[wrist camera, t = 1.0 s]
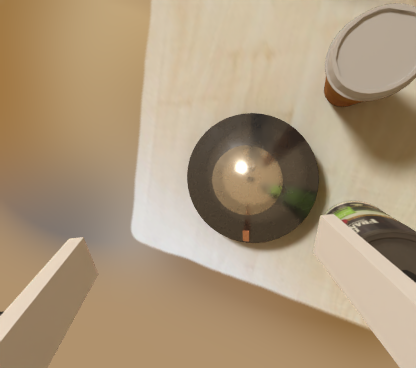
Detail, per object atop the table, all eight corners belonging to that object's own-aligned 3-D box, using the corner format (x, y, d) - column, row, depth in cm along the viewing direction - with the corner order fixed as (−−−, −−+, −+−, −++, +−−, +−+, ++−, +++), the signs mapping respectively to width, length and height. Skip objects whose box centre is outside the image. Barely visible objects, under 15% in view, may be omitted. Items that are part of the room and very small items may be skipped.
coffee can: (306, 228, 37) (318, 268, 24) (353, 188, 33) (396, 210, 20) (353, 269, 35) (394, 336, 22) (407, 231, 32) (493, 286, 19)
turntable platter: (187, 122, 41) (182, 120, 39) (319, 106, 32) (321, 103, 30) (193, 233, 44) (189, 237, 42) (315, 246, 35) (317, 251, 33)
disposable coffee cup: (398, 86, 30) (466, 46, 18) (336, 129, 33) (361, 116, 22) (357, 39, 30) (398, -26, 19) (301, 85, 34) (308, 53, 23)
